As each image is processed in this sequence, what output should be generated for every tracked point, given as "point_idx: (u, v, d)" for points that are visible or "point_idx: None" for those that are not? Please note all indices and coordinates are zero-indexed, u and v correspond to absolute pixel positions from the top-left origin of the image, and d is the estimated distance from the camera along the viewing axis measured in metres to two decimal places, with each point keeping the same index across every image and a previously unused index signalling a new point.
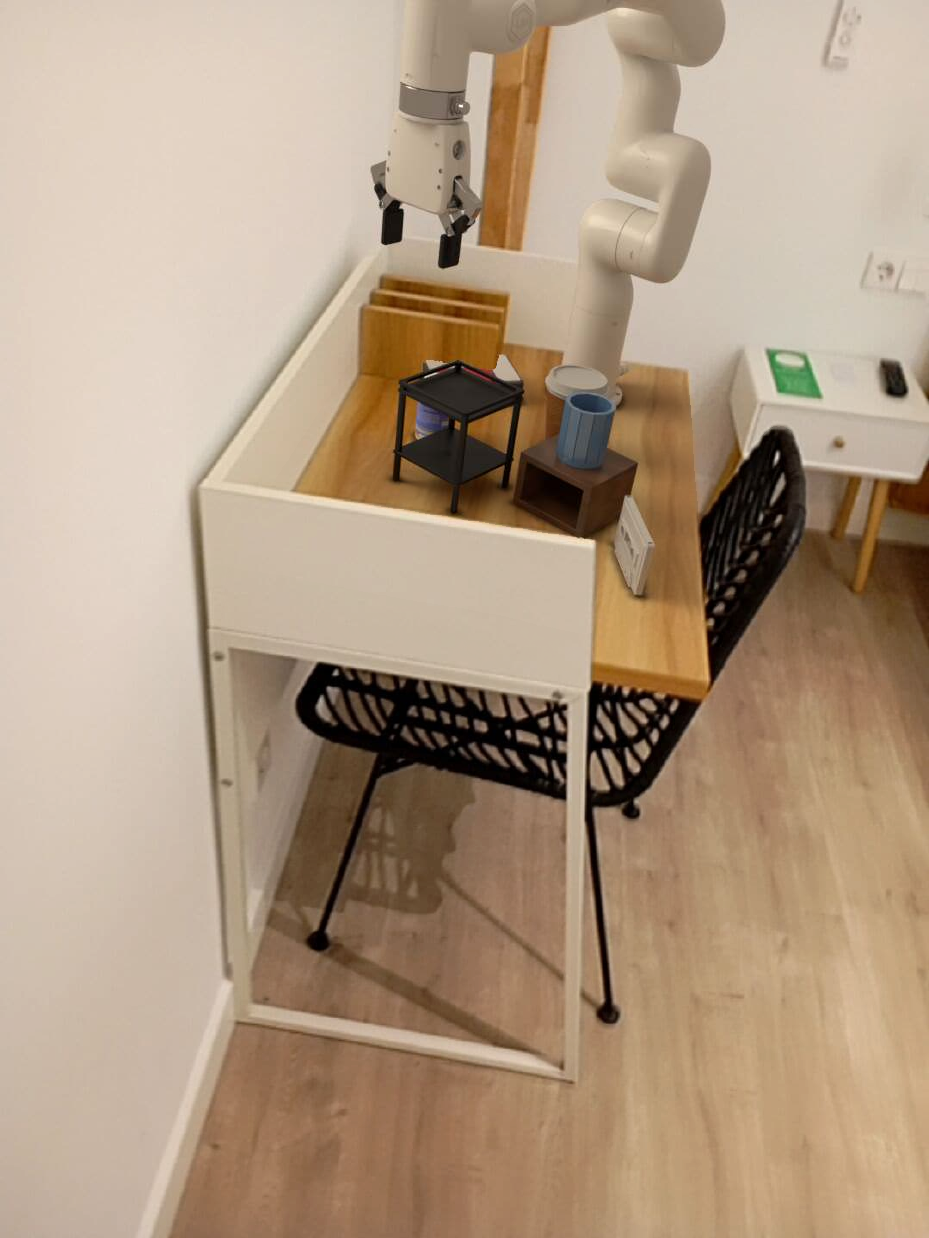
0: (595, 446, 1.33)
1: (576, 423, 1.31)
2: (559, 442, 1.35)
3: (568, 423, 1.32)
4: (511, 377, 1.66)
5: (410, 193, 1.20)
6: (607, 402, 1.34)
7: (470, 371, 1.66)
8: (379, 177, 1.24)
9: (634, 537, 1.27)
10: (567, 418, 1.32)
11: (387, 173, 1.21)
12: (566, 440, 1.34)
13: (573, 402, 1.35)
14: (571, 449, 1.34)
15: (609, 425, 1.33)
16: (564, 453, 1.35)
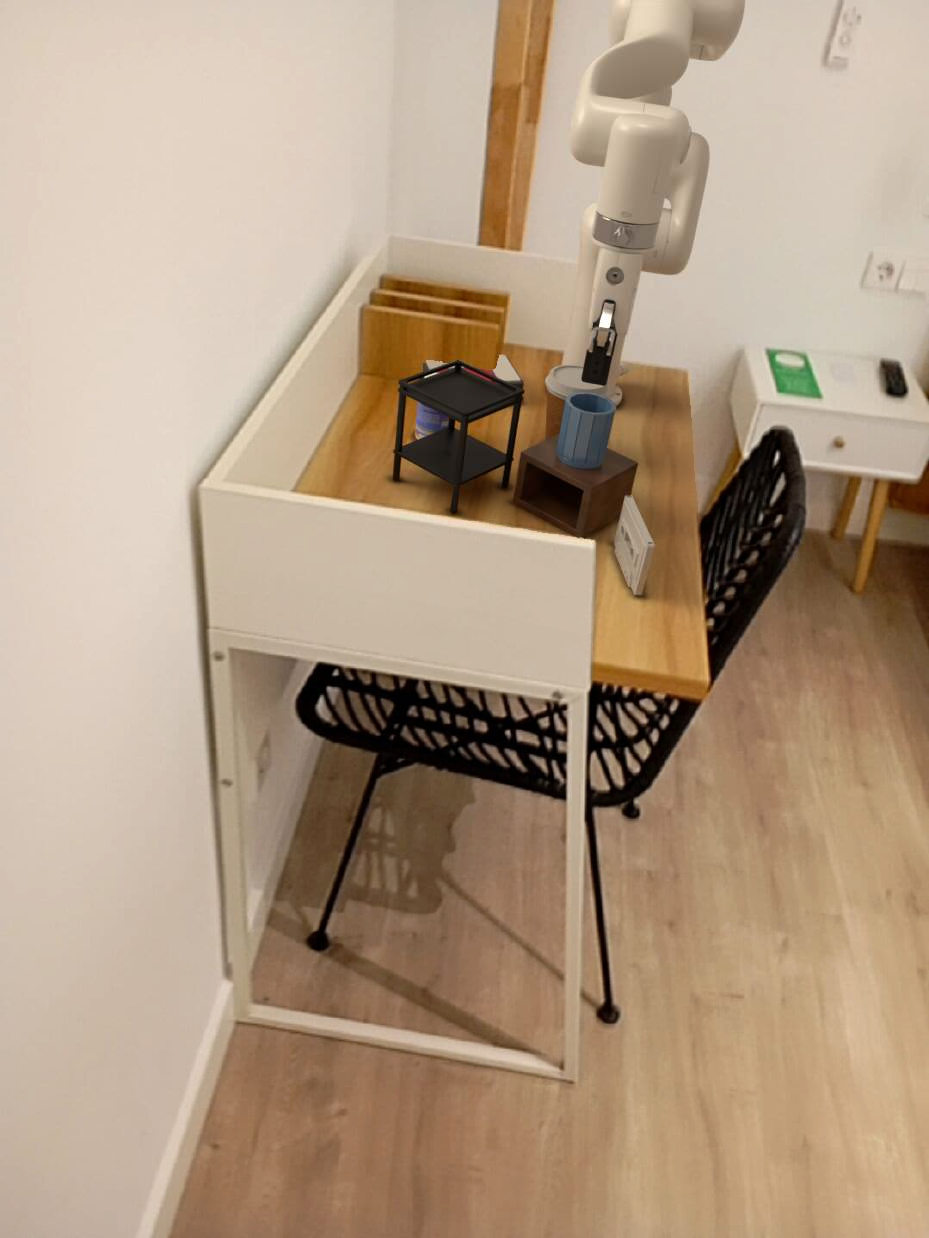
0: (595, 446, 1.33)
1: (576, 423, 1.31)
2: (559, 442, 1.35)
3: (568, 423, 1.32)
4: (511, 377, 1.66)
5: None
6: (607, 402, 1.34)
7: (470, 371, 1.66)
8: None
9: (634, 537, 1.27)
10: (567, 418, 1.32)
11: None
12: (566, 440, 1.34)
13: (573, 402, 1.35)
14: (571, 449, 1.34)
15: (609, 425, 1.33)
16: (564, 453, 1.35)
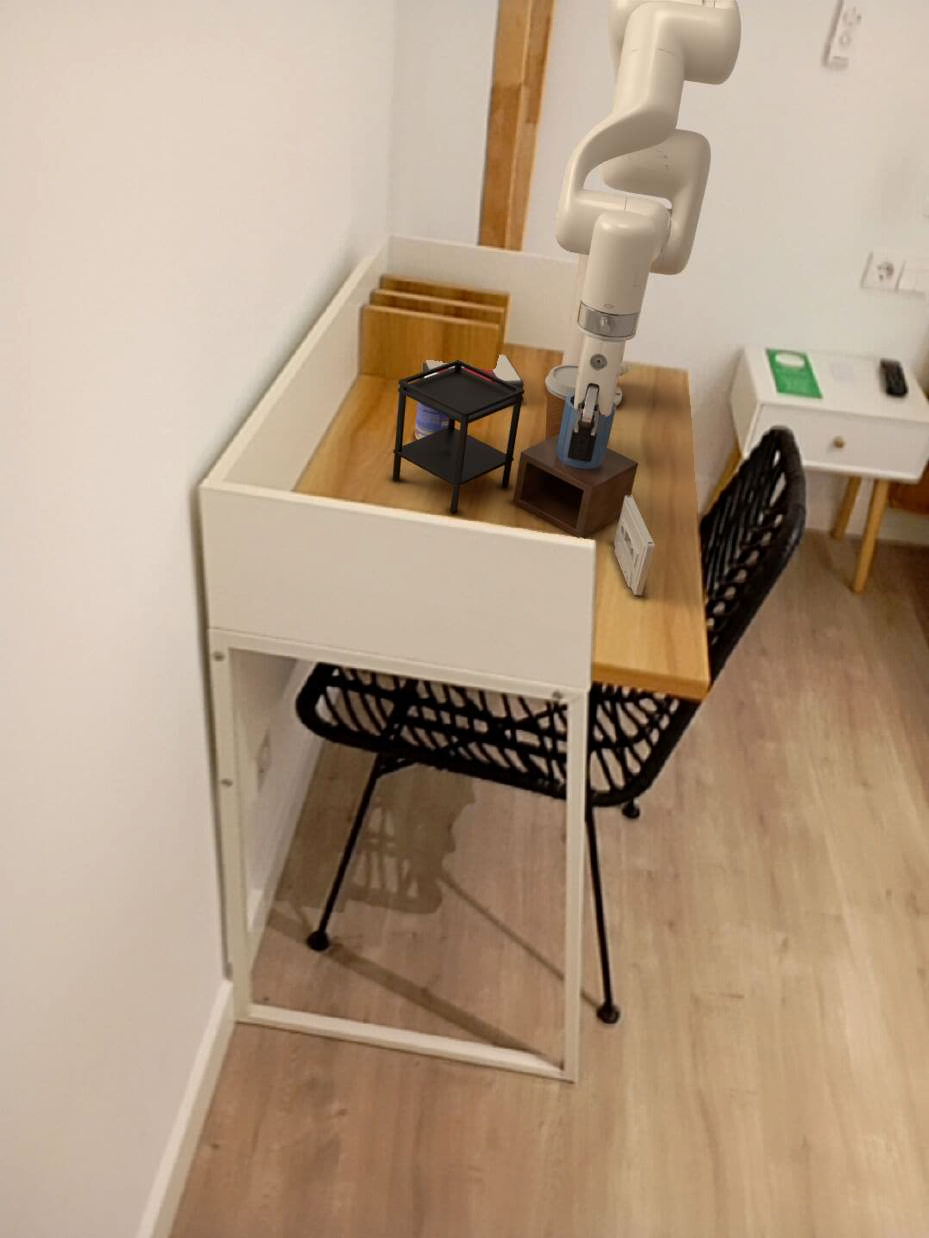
0: (595, 446, 1.33)
1: None
2: (559, 442, 1.35)
3: (568, 423, 1.32)
4: (511, 377, 1.66)
5: None
6: None
7: (470, 371, 1.66)
8: None
9: (634, 537, 1.27)
10: (567, 418, 1.32)
11: None
12: (566, 440, 1.34)
13: (573, 402, 1.35)
14: None
15: (609, 425, 1.33)
16: (564, 453, 1.35)
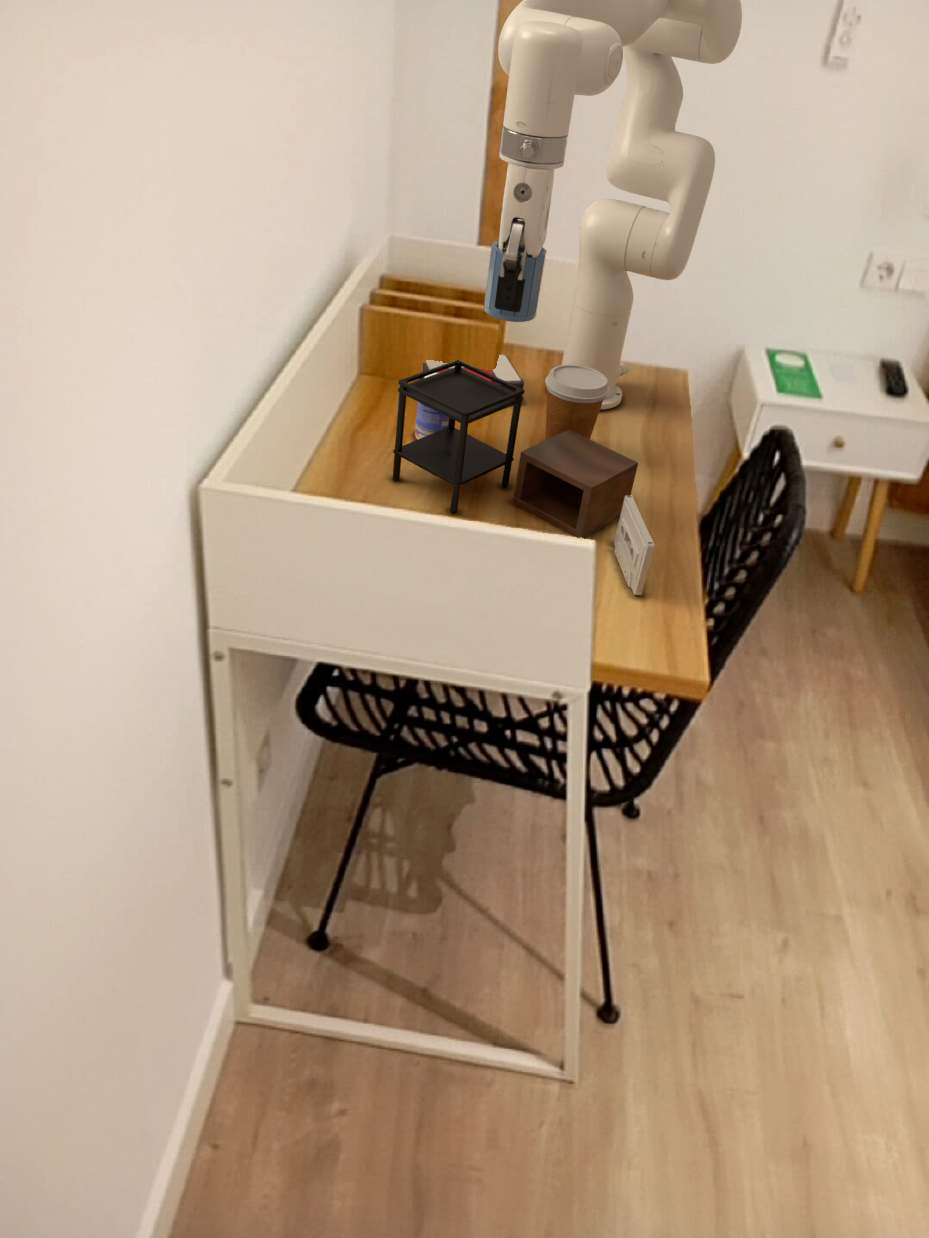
0: (524, 295, 1.23)
1: None
2: (486, 294, 1.26)
3: (495, 270, 1.23)
4: (511, 377, 1.66)
5: None
6: None
7: (470, 371, 1.66)
8: None
9: (634, 537, 1.27)
10: (493, 264, 1.23)
11: None
12: (493, 289, 1.24)
13: None
14: None
15: (539, 272, 1.23)
16: (492, 304, 1.25)
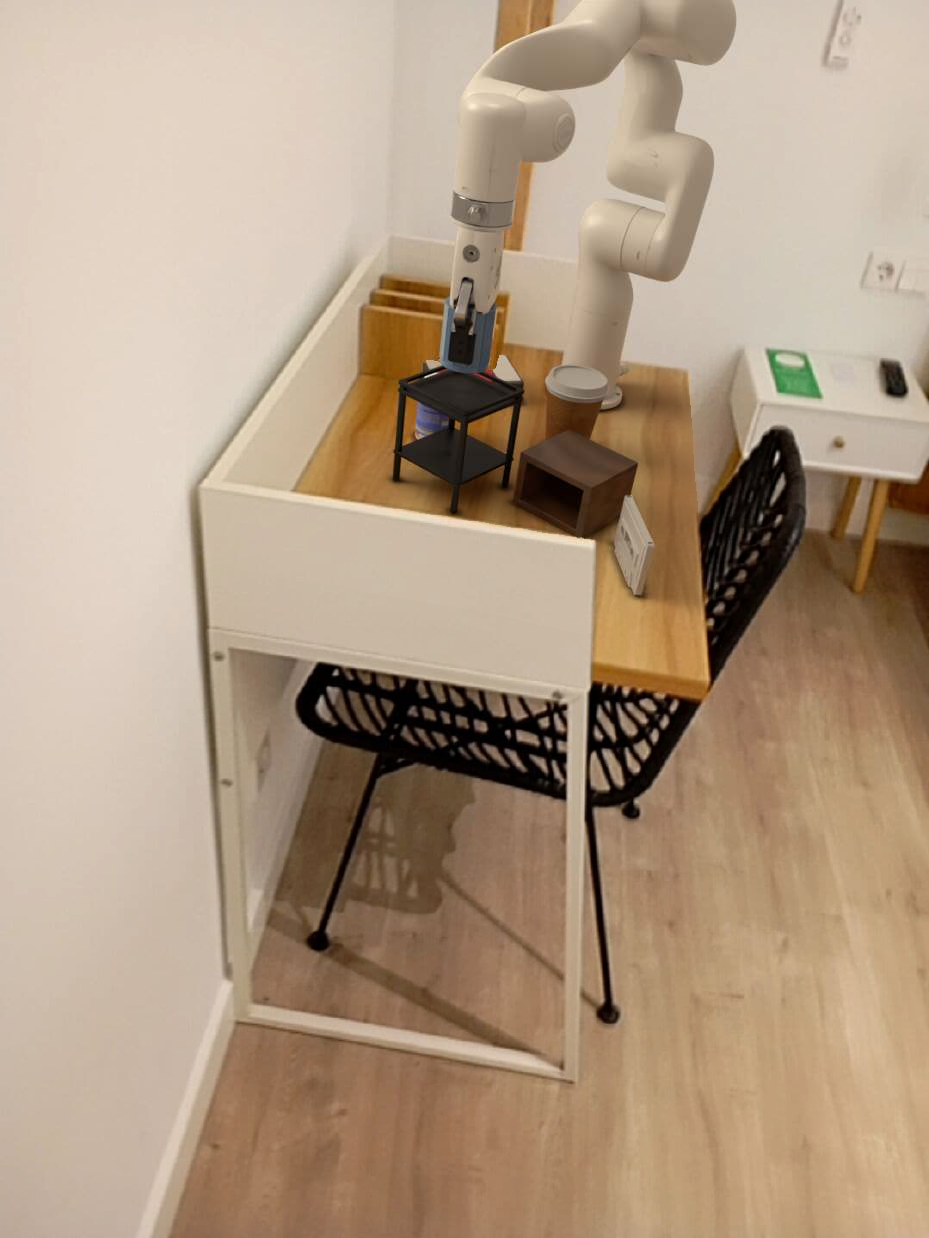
0: (476, 348, 1.29)
1: None
2: (441, 346, 1.31)
3: (447, 324, 1.28)
4: (511, 377, 1.66)
5: None
6: None
7: None
8: None
9: (634, 537, 1.27)
10: (446, 319, 1.28)
11: None
12: (446, 342, 1.29)
13: None
14: None
15: (490, 326, 1.28)
16: (446, 356, 1.30)
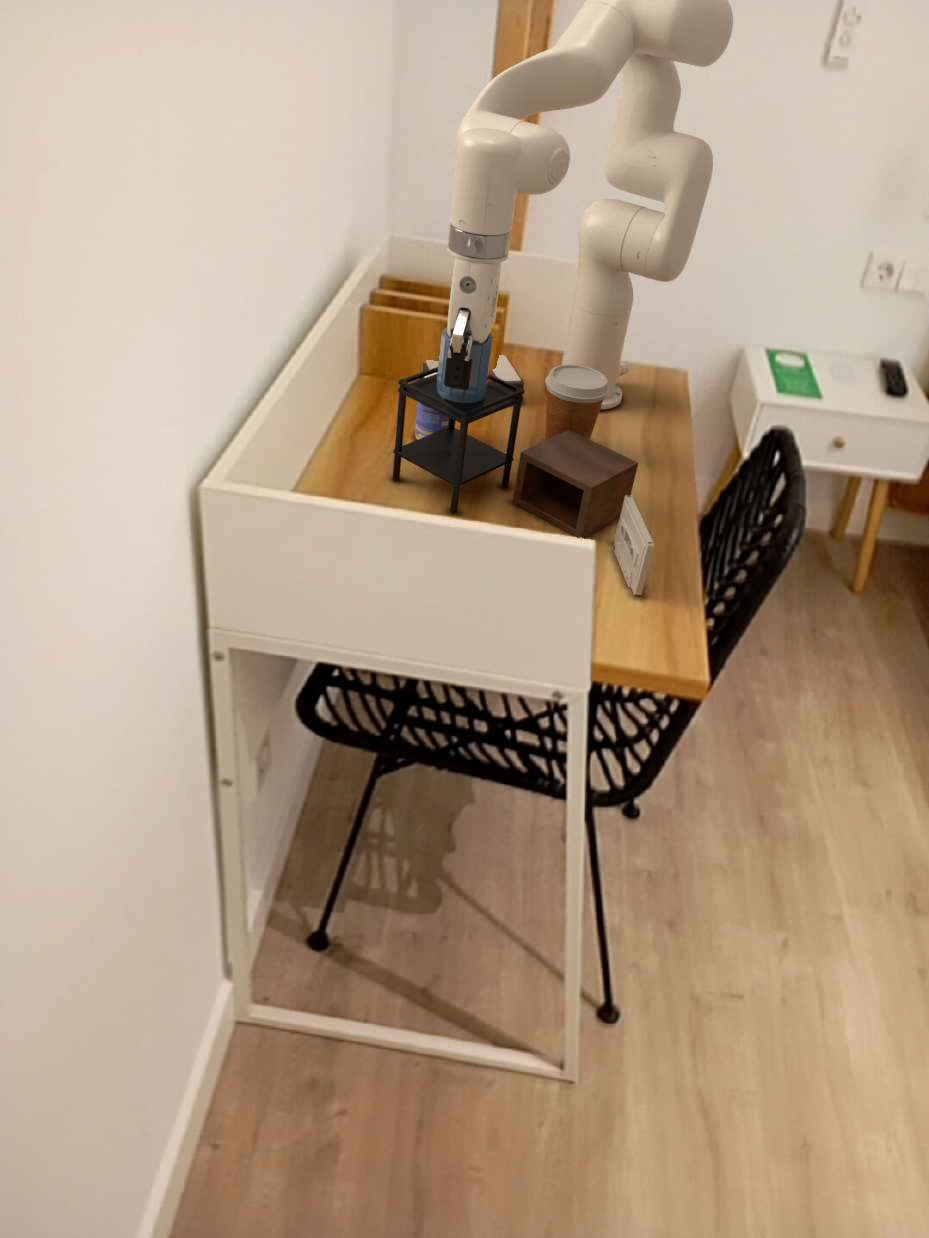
0: (472, 379, 1.31)
1: None
2: (438, 376, 1.34)
3: (444, 355, 1.30)
4: (511, 377, 1.66)
5: None
6: None
7: None
8: None
9: (634, 537, 1.27)
10: (443, 350, 1.30)
11: None
12: (444, 373, 1.32)
13: None
14: None
15: (486, 357, 1.31)
16: (443, 387, 1.33)
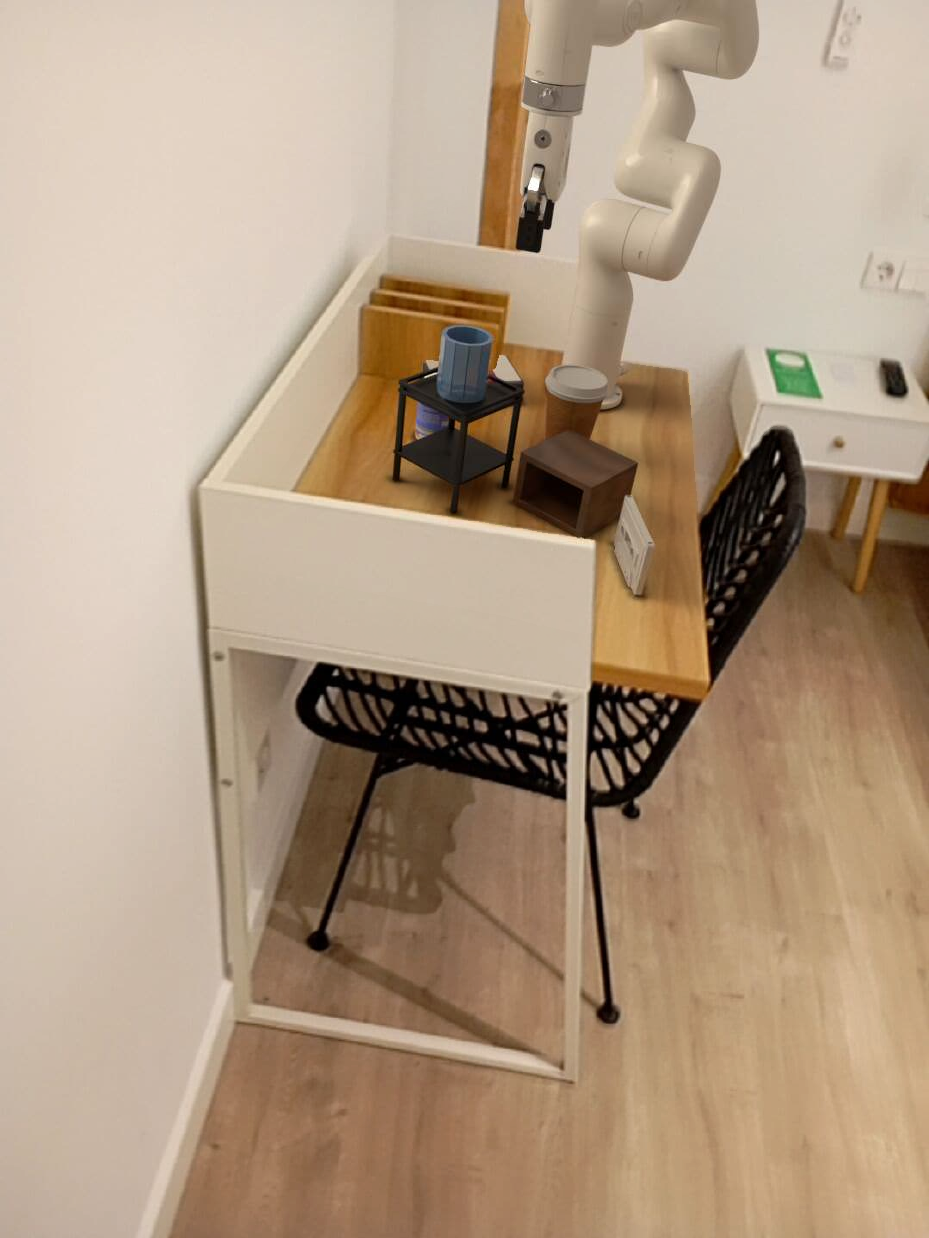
0: (472, 379, 1.31)
1: (452, 355, 1.30)
2: (438, 376, 1.34)
3: (444, 355, 1.30)
4: (511, 377, 1.66)
5: None
6: (485, 335, 1.32)
7: None
8: None
9: (634, 537, 1.27)
10: (443, 350, 1.30)
11: None
12: (444, 373, 1.32)
13: (451, 335, 1.33)
14: (449, 382, 1.32)
15: (486, 357, 1.31)
16: (443, 387, 1.33)
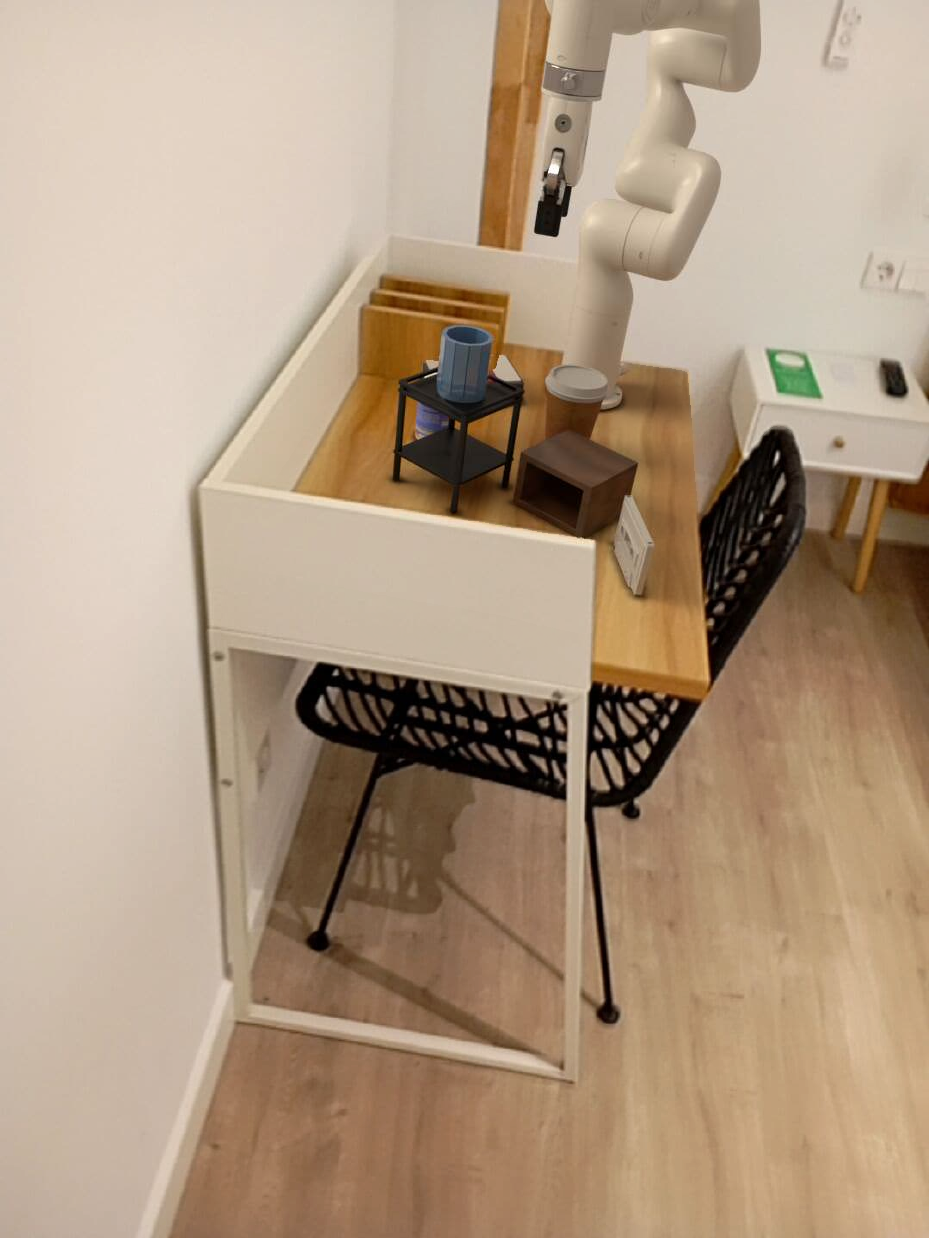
0: (472, 379, 1.31)
1: (452, 355, 1.30)
2: (438, 376, 1.34)
3: (444, 355, 1.30)
4: (511, 377, 1.66)
5: None
6: (485, 335, 1.32)
7: None
8: None
9: (634, 537, 1.27)
10: (443, 350, 1.30)
11: None
12: (444, 373, 1.32)
13: (451, 335, 1.33)
14: (449, 382, 1.32)
15: (486, 357, 1.31)
16: (443, 387, 1.33)
